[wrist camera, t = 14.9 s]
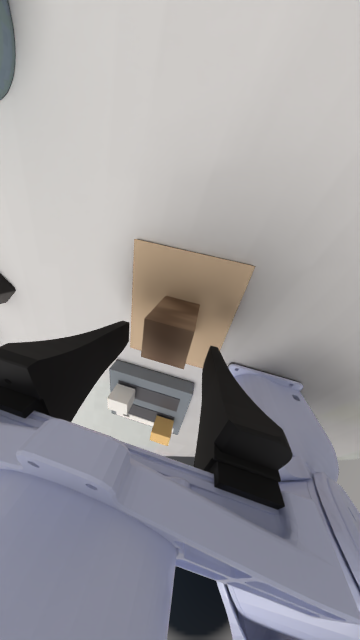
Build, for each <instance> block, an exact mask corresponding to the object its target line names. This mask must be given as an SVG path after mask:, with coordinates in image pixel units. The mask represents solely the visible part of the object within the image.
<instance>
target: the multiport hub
mask: <svg viewBox="0 0 360 640" xmlns="http://www.w3.org/2000/svg"><path fill="white" fill-rule="evenodd" d="M15 291H16V290H15V288H14V287H13V286H12V285H11V284H10V283H9V282H8V281H7V280H6V279H5V278H4V277H3V276H2V275H1V274H0V304H2V303H6V302H7V301H8V300H9V299H10V297H11V296H12V295H13V294H14V292H15Z"/></svg>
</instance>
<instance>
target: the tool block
mask: <svg viewBox="0 0 360 640" xmlns="http://www.w3.org/2000/svg"><path fill="white" fill-rule="evenodd" d="M199 307H200V304H196V303H193V302H189V301H185V300H181V299H177V298H173V297H169V296H165V297H164V298H163V299H162V300H161V301H160V302H159V303H158V304H157V305H156V306H155V308H154V309H153V310H152V311H151V312H150V313H149V314H148V315H147V316H146V317H145V318H144V329H143V340H142V351H141V357H144V358H147V359H151V360H154V361H158V362H161V363H164V364H168V365H171V366H174V367H178V368H181V369H184V366H185V363H186V360H187V356H188V353H189V349H190V346H191V343H192V339H193V336H194V332H195V328H196V322H197V317H198V312H199Z"/></svg>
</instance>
